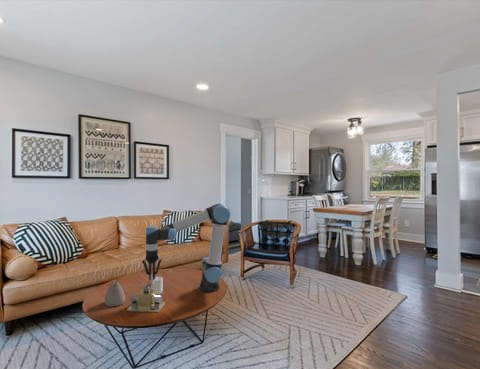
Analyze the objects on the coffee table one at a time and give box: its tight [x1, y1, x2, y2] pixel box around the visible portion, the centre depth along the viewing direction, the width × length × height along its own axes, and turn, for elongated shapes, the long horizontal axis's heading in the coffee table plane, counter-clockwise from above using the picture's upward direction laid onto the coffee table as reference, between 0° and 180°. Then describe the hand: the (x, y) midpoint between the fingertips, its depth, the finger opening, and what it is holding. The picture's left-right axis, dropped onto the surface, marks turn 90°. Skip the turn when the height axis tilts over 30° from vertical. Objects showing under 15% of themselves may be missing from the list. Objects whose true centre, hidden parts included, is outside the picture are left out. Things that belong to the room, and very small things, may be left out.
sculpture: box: [104, 279, 126, 308], centre depth 184 cm, size 13×12×15 cm
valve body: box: [126, 288, 166, 313], centre depth 178 cm, size 20×12×10 cm, turn 87°
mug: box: [145, 276, 164, 295], centre depth 199 cm, size 12×8×10 cm
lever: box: [142, 279, 152, 293], centre depth 183 cm, size 15×4×3 cm, turn 6°
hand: (152, 284), depth 187 cm, fingers closed
